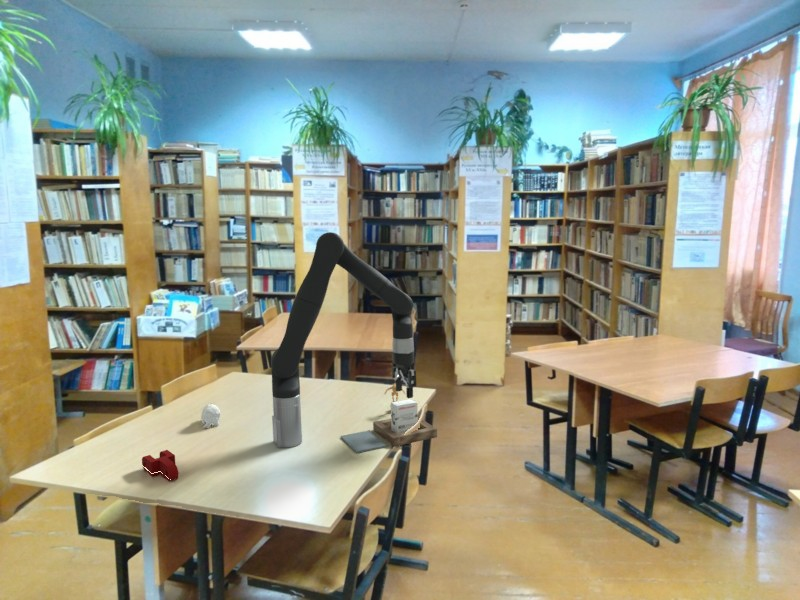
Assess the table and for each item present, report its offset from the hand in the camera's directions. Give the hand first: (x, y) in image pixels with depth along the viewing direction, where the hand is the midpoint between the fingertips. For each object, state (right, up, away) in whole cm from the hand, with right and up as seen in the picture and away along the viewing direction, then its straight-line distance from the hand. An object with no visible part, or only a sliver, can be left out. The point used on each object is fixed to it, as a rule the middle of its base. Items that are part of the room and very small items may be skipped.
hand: (404, 394), depth 192 cm
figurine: (-3, -11, +25) cm, 27 cm away
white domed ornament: (-74, -14, +14) cm, 77 cm away
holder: (0, -14, +2) cm, 15 cm away
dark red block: (-74, -20, -26) cm, 81 cm away
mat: (-14, -16, -5) cm, 22 cm away
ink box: (0, -15, +2) cm, 15 cm away
